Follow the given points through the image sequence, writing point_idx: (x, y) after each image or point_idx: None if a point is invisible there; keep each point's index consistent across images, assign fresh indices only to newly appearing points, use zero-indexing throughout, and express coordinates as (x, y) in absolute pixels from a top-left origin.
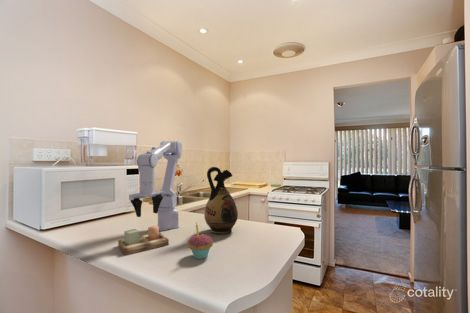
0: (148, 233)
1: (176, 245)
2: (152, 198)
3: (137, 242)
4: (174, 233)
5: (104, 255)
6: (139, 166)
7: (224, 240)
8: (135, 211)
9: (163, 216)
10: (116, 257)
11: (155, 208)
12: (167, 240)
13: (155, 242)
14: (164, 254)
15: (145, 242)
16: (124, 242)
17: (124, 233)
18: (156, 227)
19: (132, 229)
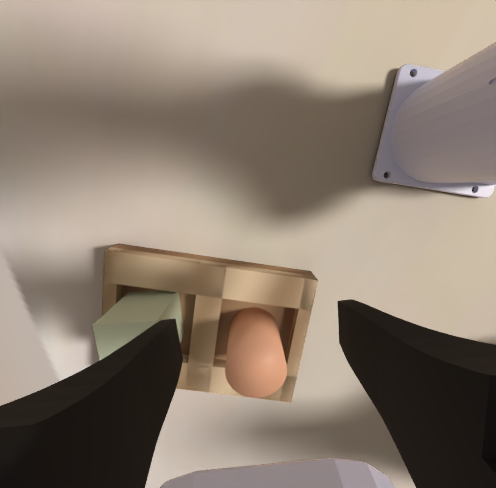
0: (227, 349)
1: (304, 407)
2: (461, 389)
3: None
4: (396, 271)
5: (50, 311)
6: None
7: None
8: (132, 342)
9: (466, 163)
10: (85, 360)
11: (362, 360)
12: (284, 397)
13: (231, 392)
14: (227, 446)
15: (196, 370)
16: (123, 297)
17: (99, 320)
18: (268, 383)
19: (143, 321)
